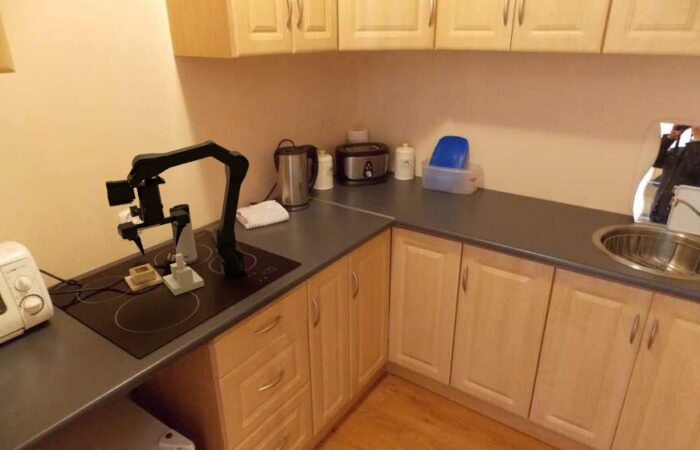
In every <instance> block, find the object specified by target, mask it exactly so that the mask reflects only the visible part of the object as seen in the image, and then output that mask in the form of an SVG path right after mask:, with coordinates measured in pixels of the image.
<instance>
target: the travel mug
mask: <svg viewBox="0 0 700 450" xmlns="http://www.w3.org/2000/svg"><path fill="white" fill-rule="evenodd" d="M178 210H183V211H185V212H186V213H187V214H189V216H190V221H191V222H190V223H188V224H186V225H187V226H186V227H184V228H183V230H182V233H181V235H180V238H179V241H178V244H177V247H175V250H176V254H182V256H183V261H184V262H185V263H186V265H189V264H193V263H195V262H197V260H198V255H197V248H196V241H195V237H194V236H195V235H194V230H193V223H192V217H191V213H190V205H189V204H188V203H181V204H177V205H174V206H172V207H170V208H169V209H168V211H169V213H170V212H173V211H178Z"/></svg>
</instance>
